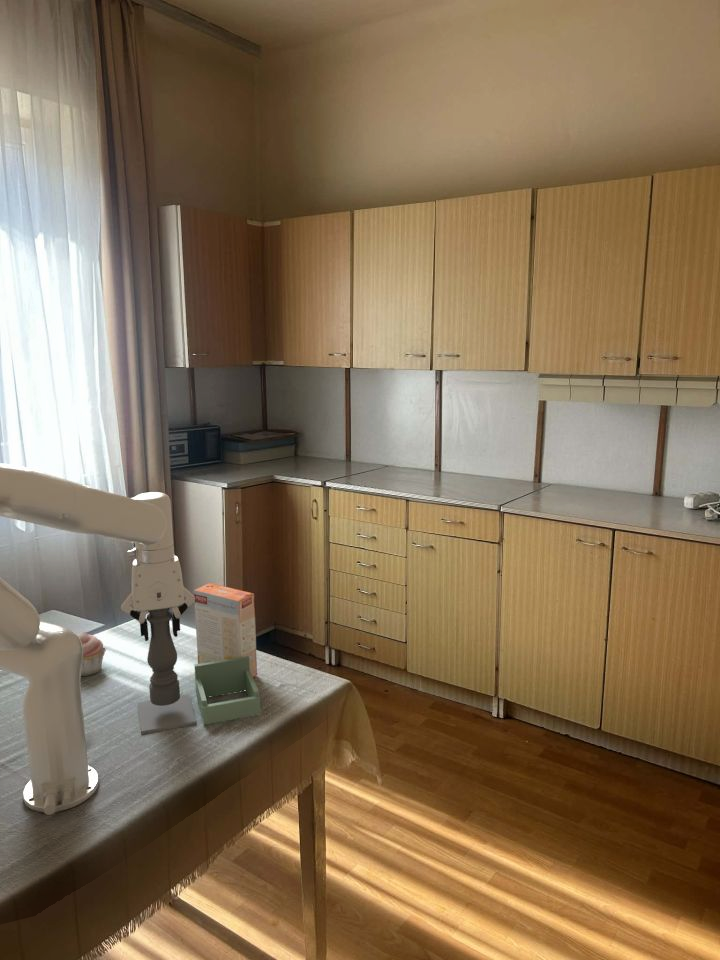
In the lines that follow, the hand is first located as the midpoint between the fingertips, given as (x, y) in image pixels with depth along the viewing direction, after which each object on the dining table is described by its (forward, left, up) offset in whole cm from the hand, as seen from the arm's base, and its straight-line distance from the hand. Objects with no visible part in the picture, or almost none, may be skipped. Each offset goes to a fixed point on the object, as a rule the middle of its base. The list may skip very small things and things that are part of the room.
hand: (160, 635), depth 152 cm
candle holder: (0, 0, -15) cm, 15 cm away
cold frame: (-1, -13, -18) cm, 22 cm away
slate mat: (0, 0, -18) cm, 18 cm away
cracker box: (+14, -15, -18) cm, 28 cm away
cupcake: (+27, +16, -18) cm, 36 cm away
